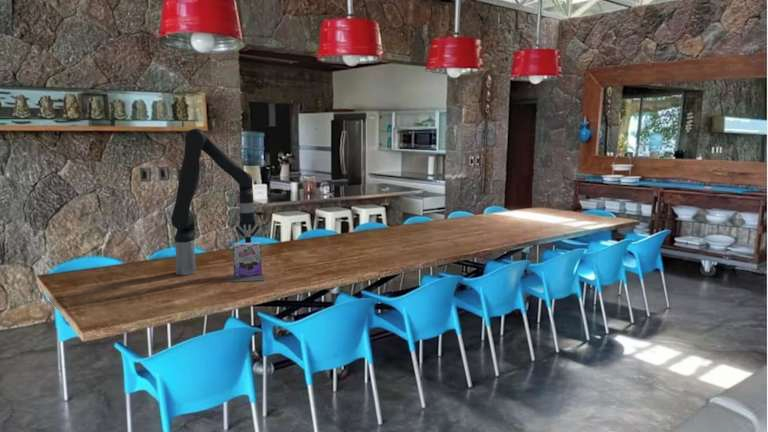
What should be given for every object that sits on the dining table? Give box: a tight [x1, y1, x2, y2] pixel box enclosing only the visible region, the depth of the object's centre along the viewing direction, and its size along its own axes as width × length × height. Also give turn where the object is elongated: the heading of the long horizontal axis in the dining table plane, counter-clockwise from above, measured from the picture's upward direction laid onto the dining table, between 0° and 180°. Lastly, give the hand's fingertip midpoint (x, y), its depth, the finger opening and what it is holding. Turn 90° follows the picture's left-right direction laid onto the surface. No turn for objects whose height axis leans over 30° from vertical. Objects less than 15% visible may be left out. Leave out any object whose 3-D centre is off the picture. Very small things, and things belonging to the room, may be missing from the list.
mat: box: [226, 275, 266, 283], centre depth 268 cm, size 18×8×1 cm, turn 99°
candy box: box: [232, 241, 263, 277], centre depth 275 cm, size 14×6×16 cm, turn 105°
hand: (248, 243), depth 282 cm, fingers closed
